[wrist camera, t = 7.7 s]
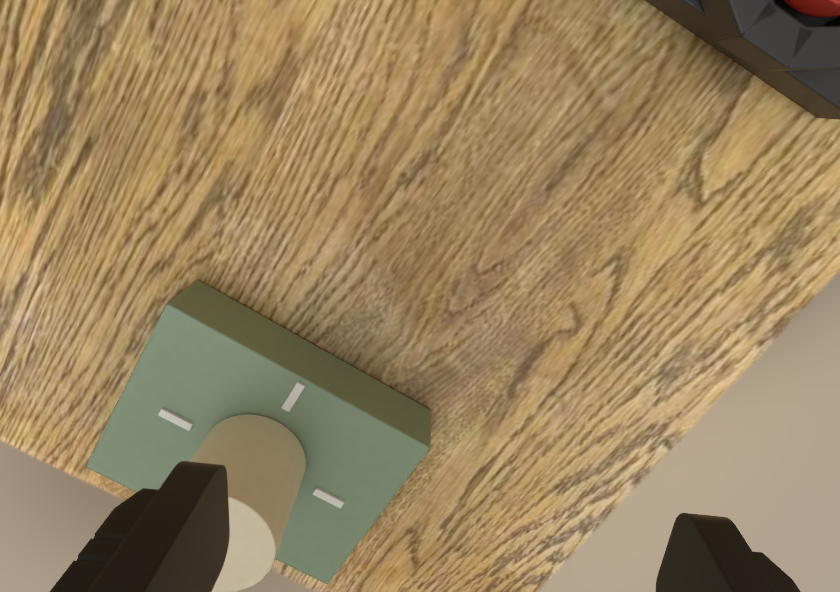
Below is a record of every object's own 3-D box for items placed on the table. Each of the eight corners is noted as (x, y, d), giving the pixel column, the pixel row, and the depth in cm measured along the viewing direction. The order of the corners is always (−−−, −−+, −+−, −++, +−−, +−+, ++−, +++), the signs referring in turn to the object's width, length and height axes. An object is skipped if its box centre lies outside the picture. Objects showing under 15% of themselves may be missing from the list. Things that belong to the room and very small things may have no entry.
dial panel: (431, 409, 26) (431, 450, 23) (338, 537, 29) (326, 588, 26) (197, 278, 24) (164, 304, 21) (121, 428, 27) (82, 469, 24)
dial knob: (225, 396, 23) (169, 478, 18) (323, 442, 23) (294, 532, 19) (187, 474, 24) (126, 569, 19) (281, 516, 25) (243, 617, 20)
